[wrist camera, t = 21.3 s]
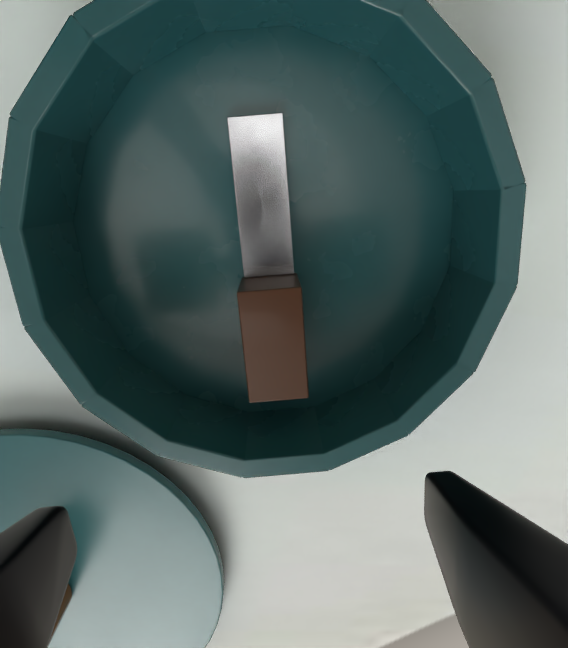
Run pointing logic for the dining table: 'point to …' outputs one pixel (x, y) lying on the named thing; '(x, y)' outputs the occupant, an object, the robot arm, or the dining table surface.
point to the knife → (267, 261)
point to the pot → (222, 224)
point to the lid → (117, 542)
